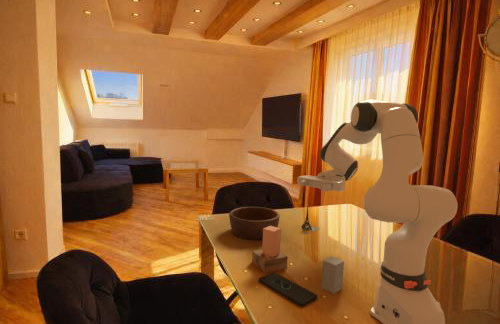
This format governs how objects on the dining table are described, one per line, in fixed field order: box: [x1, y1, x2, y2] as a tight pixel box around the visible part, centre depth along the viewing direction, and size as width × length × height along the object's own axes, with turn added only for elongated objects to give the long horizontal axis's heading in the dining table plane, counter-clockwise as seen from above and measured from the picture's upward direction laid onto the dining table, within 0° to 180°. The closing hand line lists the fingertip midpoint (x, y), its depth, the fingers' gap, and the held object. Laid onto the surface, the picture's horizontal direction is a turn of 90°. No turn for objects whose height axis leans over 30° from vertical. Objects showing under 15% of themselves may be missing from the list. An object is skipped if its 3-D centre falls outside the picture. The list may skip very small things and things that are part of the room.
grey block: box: [320, 256, 345, 294], centre depth 108 cm, size 5×5×10 cm
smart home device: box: [258, 271, 318, 308], centre depth 107 cm, size 8×2×20 cm
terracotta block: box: [261, 226, 282, 257], centre depth 124 cm, size 5×5×10 cm
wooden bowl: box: [228, 206, 280, 241], centre depth 159 cm, size 25×25×10 cm
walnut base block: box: [251, 248, 288, 274], centre depth 125 cm, size 10×10×5 cm
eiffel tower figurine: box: [301, 206, 320, 235], centre depth 168 cm, size 15×10×13 cm
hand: (312, 185), depth 132 cm, fingers open, 8 cm apart
